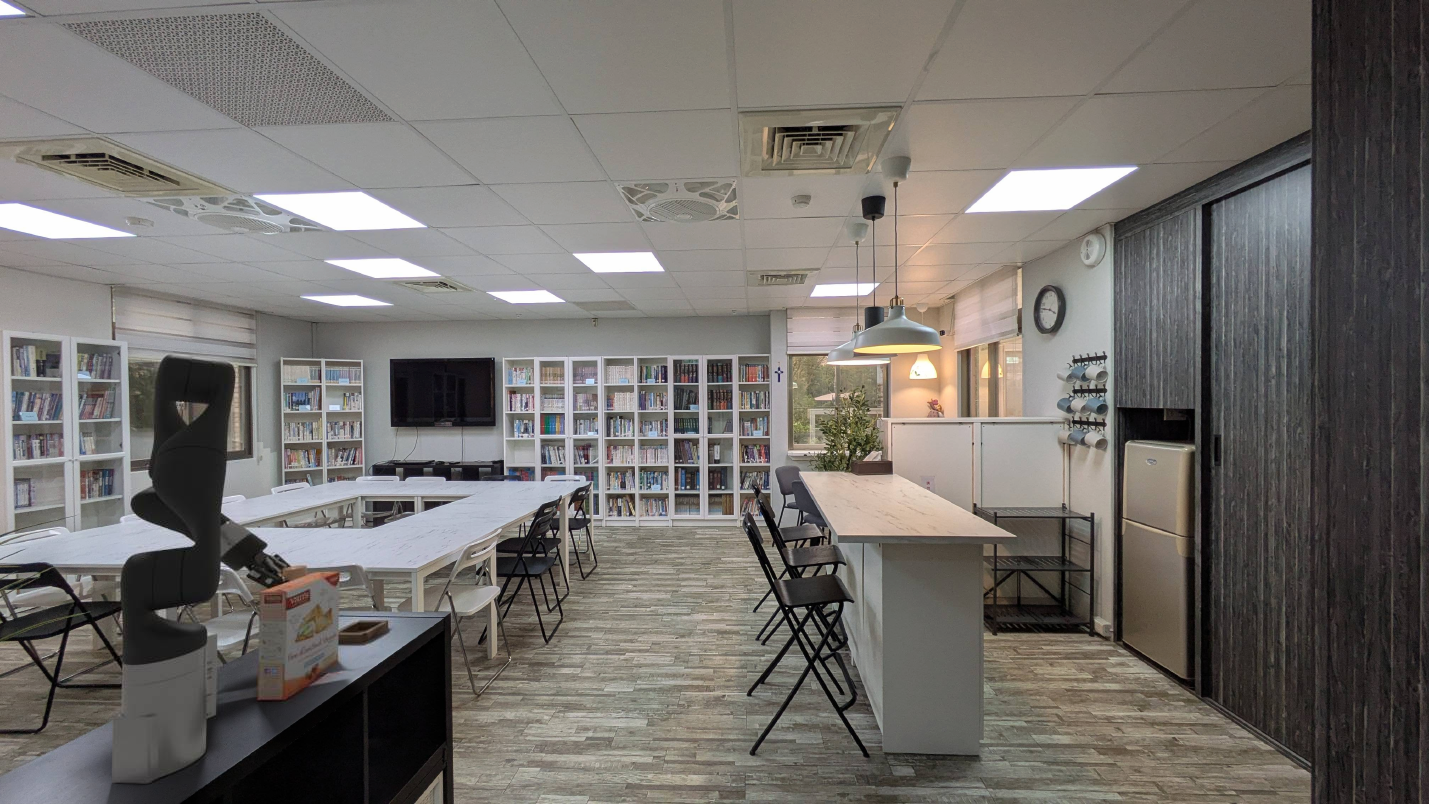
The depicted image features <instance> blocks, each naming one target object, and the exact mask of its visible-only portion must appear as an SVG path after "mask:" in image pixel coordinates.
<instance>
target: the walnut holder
mask: <svg viewBox="0 0 1429 804" xmlns="http://www.w3.org/2000/svg"><path fill="white" fill-rule="evenodd" d="M390 630H393V627H389V620H387V619H385V620H372V619H371V620H367V619H365V620H362V619H360V620H358V621H353V622H352V623H350V624H348V625H345V626H343V627H342V628H339V630H338V645H365V644H367V643H369V642H372V641H373V640H374V639H377V638H379V637H380V636H382V635H383V634H385V633H387V632H389V631H390Z"/></svg>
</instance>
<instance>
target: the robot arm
mask: <svg viewBox="0 0 1429 804" xmlns="http://www.w3.org/2000/svg"><path fill="white" fill-rule="evenodd" d="M236 377H237V376H236V369H235V367H234V366H233V364H232V363H231V362H229V361H225V360H222V359H221V360H220V359H217V358H215V359H214V358H209V357H207V358H206V357H201V356H193V355H188V354H187V355H186V354H178V353H177V354H176V353H172V354H167V355H165V356H164V357H163V358H162V359H161V361H160V364H159V366H158V369H157V373H156V378H155V384H154V397H153V398H154V399H153V443H152V451H151V454H150V458H149V465H148V470H147V471H148V472H147V473H148V476H149V478H150V479H151V484H152V485H151V486H150V487H147V488H145V489H143V490H141V491H140V492H138V493H136V494H134V496H133V497H132V498H131V500H130V508H131V511H132V512H133V513H134V515H136V516H137V517H138V518H139V519H141V520H143V521H145V522H147V523H150V524H152V525H156V526H159V527H161V528H164V529H167V530H170V531H173V532H176V533H179V534H182V535H184V536H185V537H186V538H188V539H189V540H190V541H192V542H194V544H193V545H192V546H182V547H176V548H175V547H174V548H168V549H166V548H165V549H159V550H150V551H144V552H143V551H142V552H138V553H134V554H132V555H131V556H130V557H128V558H127V559H126V561H125V563H124V565H122V568H121V569H122V570H121V572H120V585H119V586H120V587H119V588H120V603H121V613H122V614H121V617H122V618H121V619H122V623H121V624H122V658H121V659H122V661H121V662H122V665H121V667H122V674H121V676H122V678H121V679H122V681H121V705H120V706H121V710H120V711H121V713H119V714H117V715H115V716H114V717H113V718H112V741H111V742H112V747H111V751H112V752H111V753H112V754H111V783H116V784H118V783H121V784H150V783H152V782H154V781H155V780H157V779H159V778H161V777H164V776H167V775H170V774H172V773H175V772H177V771H179V770H181V769H184V768H186V767H188V766H189V765H191V764H193V763H194V762H197V760H199V759H200V758H201V757H202V756H203V755H204V754H205V753H206V750H207V719H206V704H207V632H208V629H207V627H206V625H204V624H202V623H199V622H191V621H190V622H188V621H187V622H185V621H178V620H173V619H168V618H166V617H163V616H160V615H159V614H157V612H156V611H163V610H166V609H167V610H168V609H172V608H179V607H184V606H190V605H196V604H200V603H205V602H208V601H210V600H212V599H213V598H214V596H215V595H216V593H217V592H218V588H219V585H220V581H221V580H220V579H221V567H222V566H221V564H224V565H225V566H226V567H228V568H229V569H231V570H233V571H234V572H238V571H240V570H242V569H243V568H246V569H247V571H249V573H246V575H245V576H246V578H247V579H249V580H250V581H253V582H255V583H256V584H259V585H260V586H262V587H265V588H267V589H270V588H273V587H276V586H278V585H281V584H284V583H287V582H290V581H288V580H287V579H286V578H285V577H284V576H283V569H284V568H288V567H292V565H291V564H290V563H288V562H287V561H286V560H285V559H284V558H283V557H281V556H280V554H277V553H276V554H274V555H272V554H271V555H270V554H268V553H266V552H264V550H266V548H268V546H269V545H268V542H266V541H264V540H263V539H262V538H260V537H259V536H258V535H256V534H254V533H253V532H251V531H250V530H249V529H248V528H246V527H244V526H243V525H241V524H239V523H237V522H235V520H232V519H230V518H229V517H228V516H227V515H225V514H224V513H222V506H223V498H224V497H223V496H224V490H225V482H226V475H227V464H228V463H227V462H228V438H229V437H228V436H229V421H230V417H231V408H232V405H233V404H232V403H233V398H234V394H235V387H236ZM177 402H179V403H180V402H181V403H189V404H190V403H191V404H199V405H201V404H202V405H203V404H204V405H207V406H206V408H205V409H204V411H202V413H201V414H199V415H198V416H197V417H196V418H195V419H194V420H193V421H191V422H190V423H189V424H187V422H186V421H185V420H184V419H183V417H182V415H181V414H180V412H179V410H178V407H177ZM286 580H287V581H286Z"/></svg>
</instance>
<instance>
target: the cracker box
mask: <svg viewBox="0 0 1429 804" xmlns="http://www.w3.org/2000/svg"><path fill="white" fill-rule="evenodd" d="M340 573H341V572H339V571H316V572H312V573H308V574H309V575H307V576H304V577H301V578H298V579H295V580H293V581H290V582H287V583H284V584H281V585H278V586H276V587H273V588H270V589H268V588H267V589H265V590H262V591H260V592H259V611H258V612H259V613H258V615H259V617H258V620H259V621H258V656H257V657H258V658H257V659H258V660H257V662H258V663H257V664H258V665H257V698H256V699H257V701H285V700H287V699H289V698H290V697H292V696H293V695H295V694H297V693H298V692H300V691H302V690H303V689H305V688H307V687H309V685H311V684H313V683H314V682H316V681H318V680H320V679H321V678H322V677H324V676H326V675H328V674H329V672H326V673H321V672H322V671H324V670H326V669H327V668H329V667H331V666H332V665H334V664H335V663H337V662H338V661H339V644H338V630H339V629H340V628H339V623H340V620H339V619H340V614H339V613H340V577H341V575H340ZM319 673H321V674H319Z"/></svg>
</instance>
